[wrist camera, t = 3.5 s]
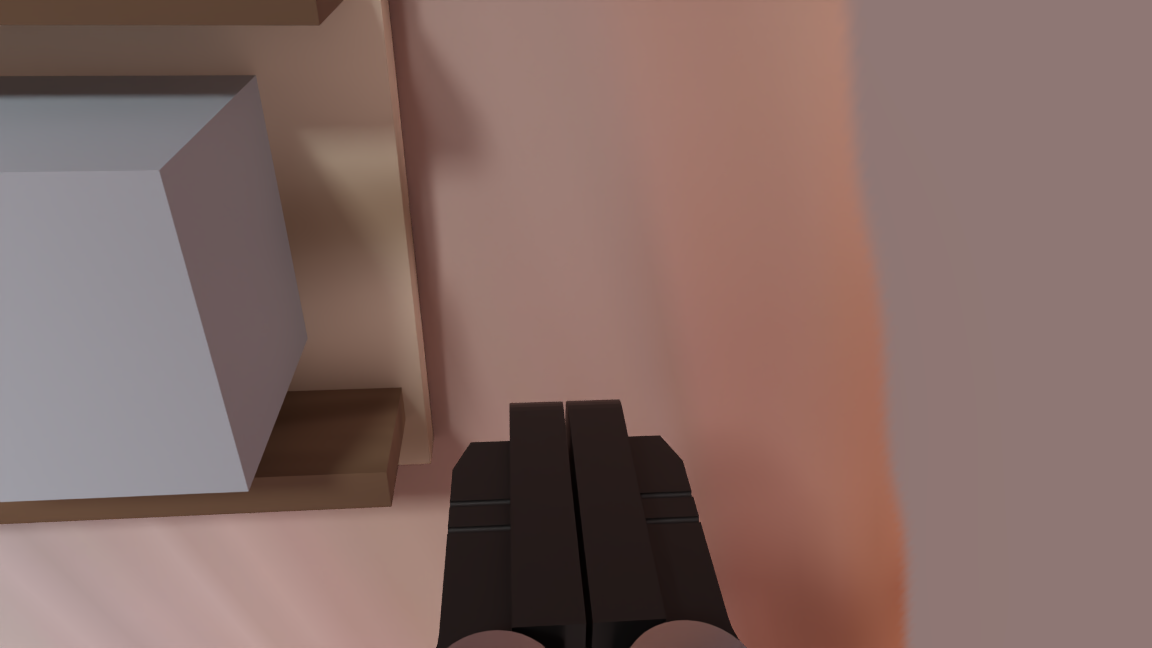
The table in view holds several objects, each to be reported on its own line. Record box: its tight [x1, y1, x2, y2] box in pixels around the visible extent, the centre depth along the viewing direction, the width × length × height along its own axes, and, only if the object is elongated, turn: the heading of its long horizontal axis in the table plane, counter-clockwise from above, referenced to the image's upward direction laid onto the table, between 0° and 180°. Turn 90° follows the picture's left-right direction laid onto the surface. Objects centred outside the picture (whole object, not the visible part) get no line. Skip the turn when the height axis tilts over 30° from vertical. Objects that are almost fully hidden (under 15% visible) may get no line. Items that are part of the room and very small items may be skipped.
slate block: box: [0, 75, 308, 502], centre depth 14 cm, size 6×6×5 cm
